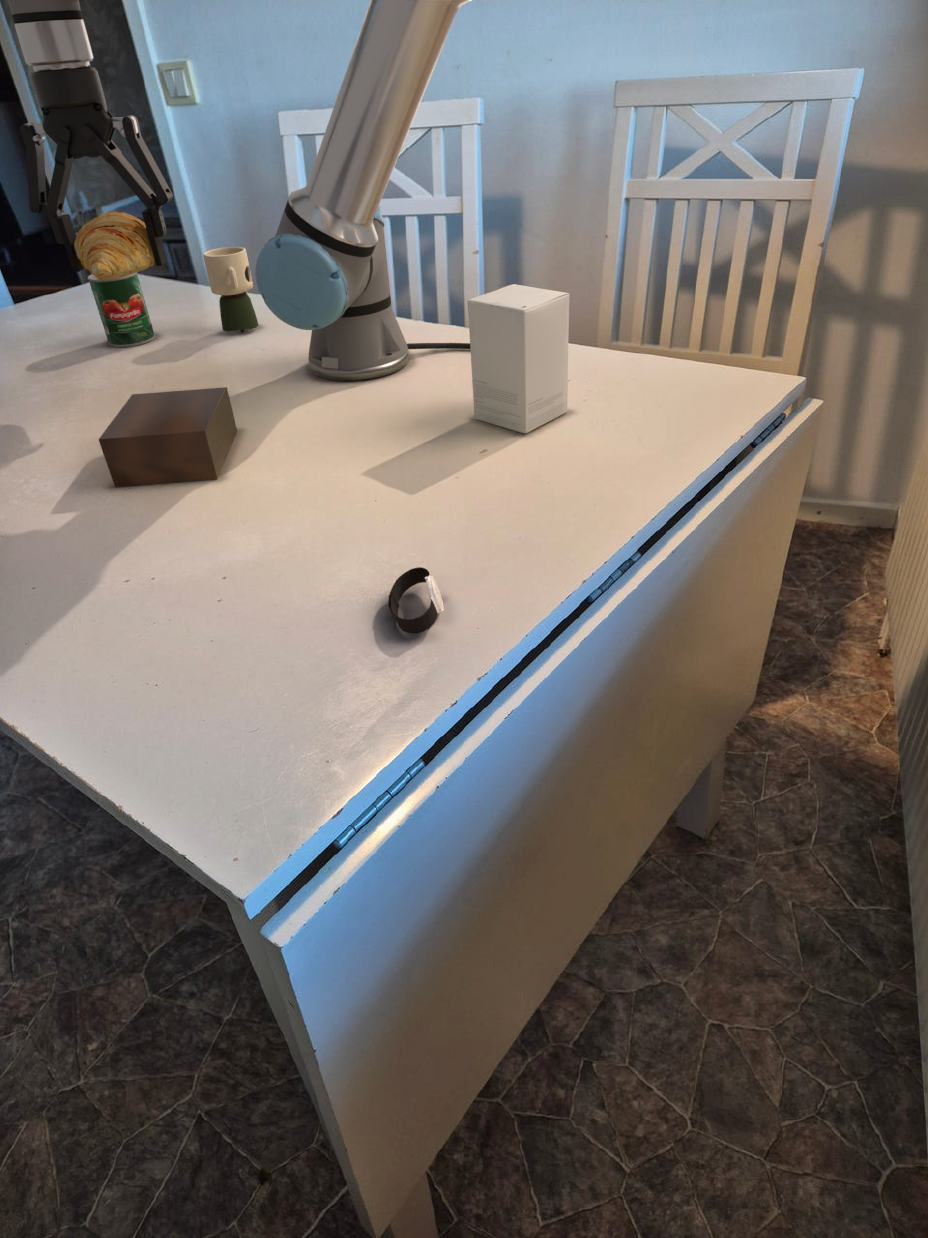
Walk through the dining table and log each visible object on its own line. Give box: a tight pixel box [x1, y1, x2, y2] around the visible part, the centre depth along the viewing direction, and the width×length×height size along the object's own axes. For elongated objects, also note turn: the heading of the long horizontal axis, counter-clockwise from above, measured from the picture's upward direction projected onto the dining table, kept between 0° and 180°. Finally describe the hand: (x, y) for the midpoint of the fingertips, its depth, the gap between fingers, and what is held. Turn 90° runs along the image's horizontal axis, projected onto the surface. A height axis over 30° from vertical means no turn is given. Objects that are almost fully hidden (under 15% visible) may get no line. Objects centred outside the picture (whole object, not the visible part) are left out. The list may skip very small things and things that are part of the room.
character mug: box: [202, 246, 260, 333], centre depth 139 cm, size 11×7×13 cm, turn 22°
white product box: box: [467, 283, 570, 434], centre depth 100 cm, size 9×9×15 cm
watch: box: [388, 567, 444, 635], centre depth 70 cm, size 8×5×4 cm, turn 5°
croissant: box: [74, 210, 156, 281], centre depth 107 cm, size 21×10×8 cm, turn 9°
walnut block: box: [98, 386, 238, 488], centre depth 98 cm, size 12×14×6 cm
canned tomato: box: [87, 272, 156, 348], centre depth 139 cm, size 8×8×11 cm
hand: (120, 266), depth 108 cm, fingers closed on croissant, 10 cm apart
